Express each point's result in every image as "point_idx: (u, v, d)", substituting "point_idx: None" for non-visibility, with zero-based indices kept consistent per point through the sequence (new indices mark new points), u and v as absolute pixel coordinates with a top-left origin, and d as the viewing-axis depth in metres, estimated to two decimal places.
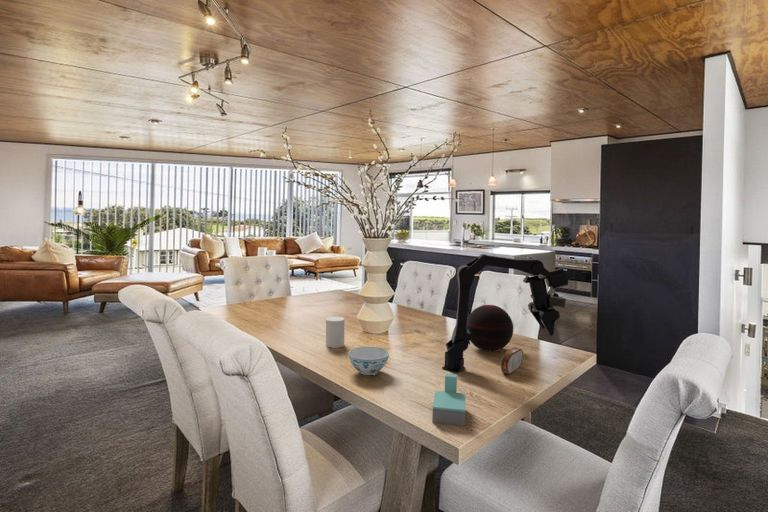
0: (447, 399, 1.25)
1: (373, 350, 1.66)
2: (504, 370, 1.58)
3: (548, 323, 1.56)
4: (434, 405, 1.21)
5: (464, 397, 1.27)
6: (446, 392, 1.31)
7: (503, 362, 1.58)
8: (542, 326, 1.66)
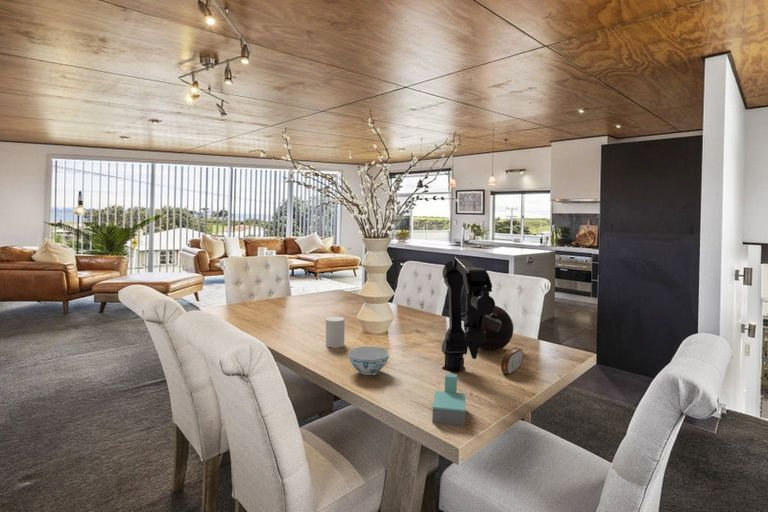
0: (447, 399, 1.25)
1: (373, 350, 1.66)
2: (504, 370, 1.58)
3: (472, 344, 1.36)
4: (434, 405, 1.21)
5: (464, 397, 1.27)
6: (446, 392, 1.31)
7: (503, 362, 1.58)
8: None
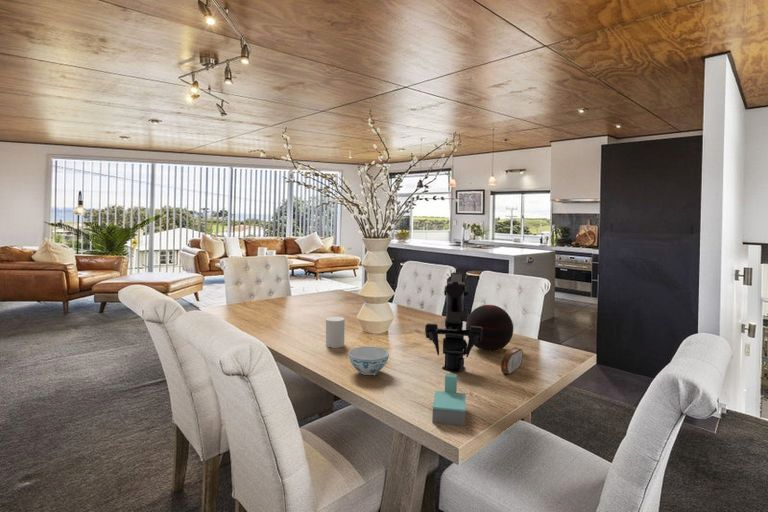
0: (447, 399, 1.25)
1: (373, 350, 1.66)
2: (504, 370, 1.58)
3: (435, 341, 1.43)
4: (434, 405, 1.21)
5: (464, 397, 1.27)
6: (446, 392, 1.31)
7: (503, 362, 1.58)
8: (466, 354, 1.39)
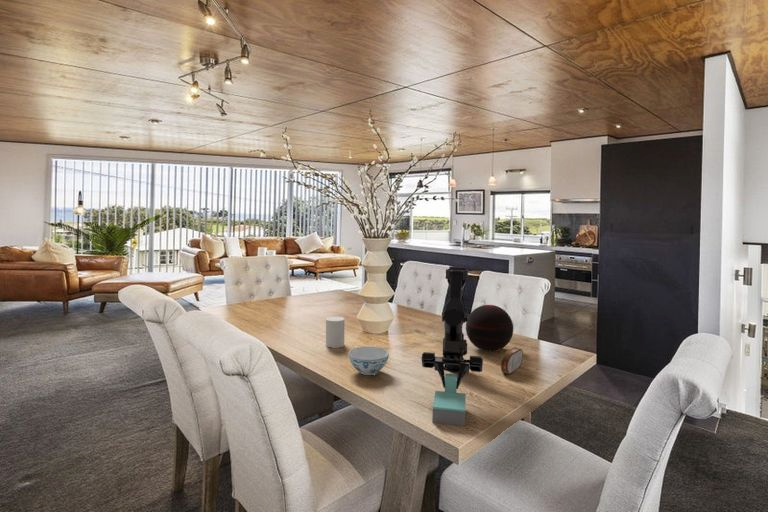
0: (447, 399, 1.25)
1: (373, 350, 1.66)
2: (504, 370, 1.58)
3: None
4: (434, 405, 1.21)
5: (464, 397, 1.27)
6: (446, 392, 1.31)
7: (503, 362, 1.58)
8: None
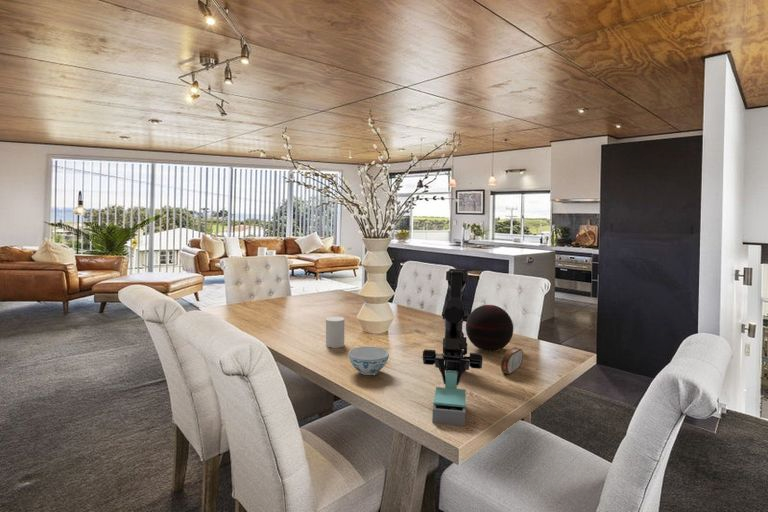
0: (447, 395, 1.28)
1: (373, 350, 1.66)
2: (504, 370, 1.58)
3: None
4: (435, 401, 1.24)
5: (464, 393, 1.30)
6: (446, 388, 1.33)
7: (503, 362, 1.58)
8: None
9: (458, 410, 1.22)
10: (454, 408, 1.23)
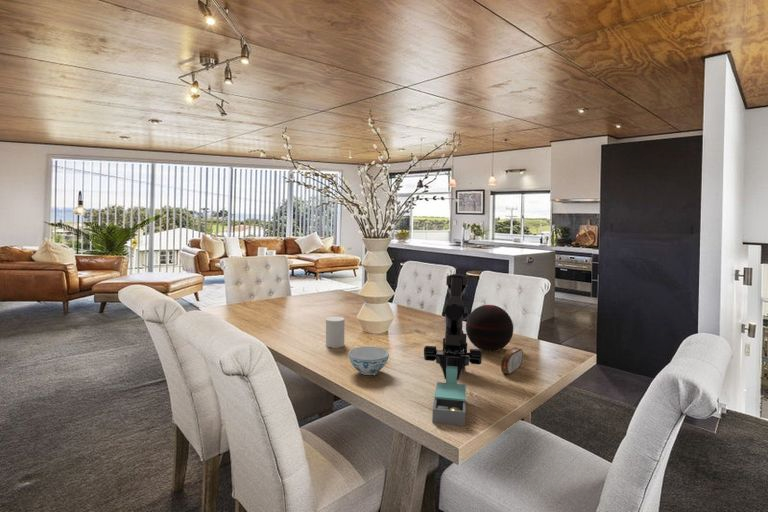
0: (448, 390, 1.32)
1: (373, 350, 1.66)
2: (504, 370, 1.58)
3: (442, 365, 1.41)
4: (436, 395, 1.28)
5: (464, 388, 1.33)
6: (447, 383, 1.37)
7: (503, 362, 1.58)
8: (457, 377, 1.38)
9: (458, 410, 1.22)
10: (454, 408, 1.23)
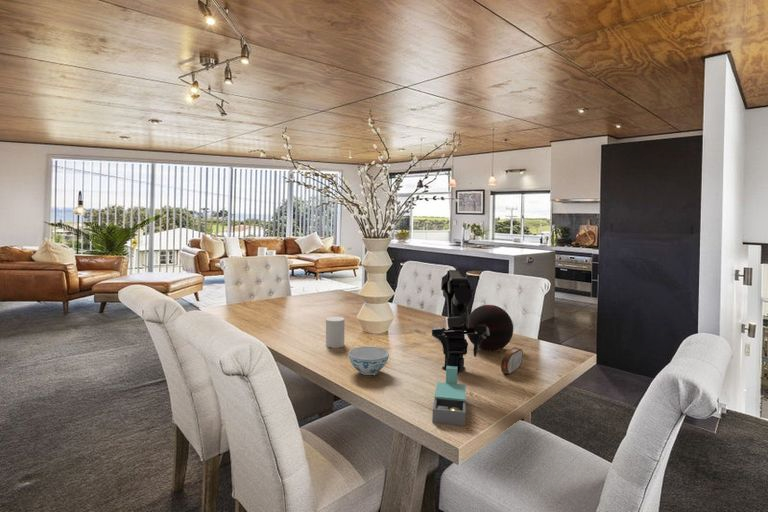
0: (448, 390, 1.32)
1: (373, 350, 1.66)
2: (504, 370, 1.58)
3: None
4: (436, 395, 1.28)
5: (464, 388, 1.33)
6: (447, 383, 1.37)
7: (503, 362, 1.58)
8: None
9: (458, 410, 1.22)
10: (454, 408, 1.23)
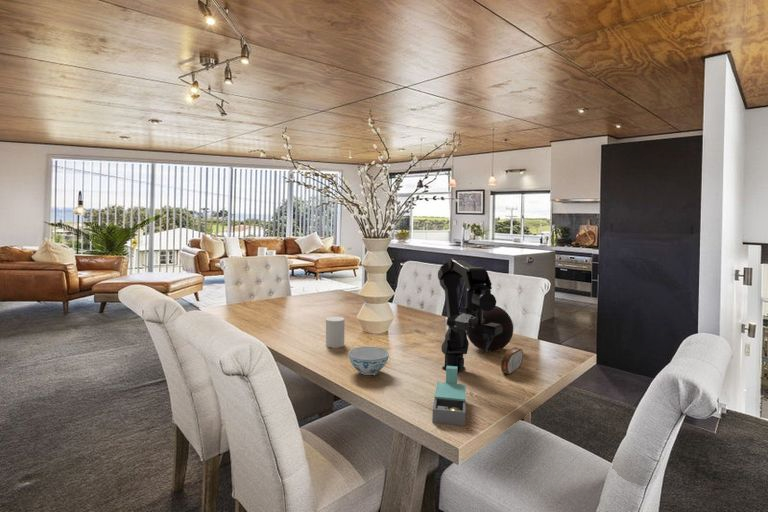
0: (448, 390, 1.32)
1: (373, 350, 1.66)
2: (504, 370, 1.58)
3: None
4: (436, 395, 1.28)
5: (464, 388, 1.33)
6: (447, 383, 1.37)
7: (503, 362, 1.58)
8: None
9: (458, 410, 1.22)
10: (454, 408, 1.23)
